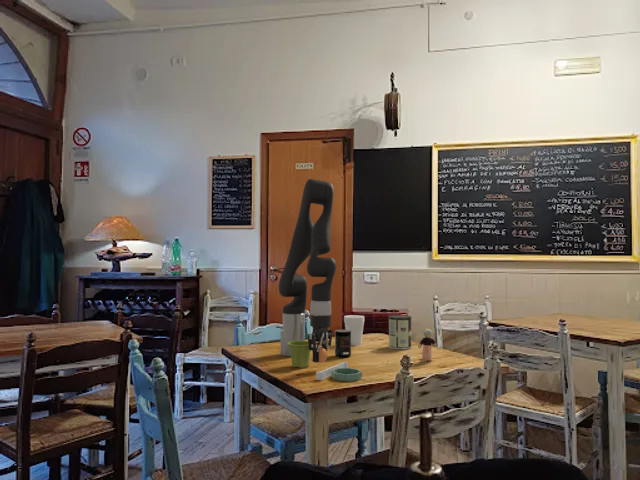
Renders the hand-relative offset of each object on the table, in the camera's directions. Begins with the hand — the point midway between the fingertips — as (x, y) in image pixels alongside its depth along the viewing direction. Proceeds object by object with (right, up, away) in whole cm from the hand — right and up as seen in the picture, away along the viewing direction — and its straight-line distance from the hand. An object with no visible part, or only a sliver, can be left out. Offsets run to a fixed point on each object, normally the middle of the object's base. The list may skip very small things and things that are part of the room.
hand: (319, 360), depth 181 cm
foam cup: (+16, -6, +54) cm, 57 cm away
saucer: (+9, -4, -10) cm, 14 cm away
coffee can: (+36, -6, +47) cm, 60 cm away
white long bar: (+4, -4, -5) cm, 7 cm away
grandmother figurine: (+43, -5, +18) cm, 47 cm away
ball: (0, +2, 0) cm, 2 cm away
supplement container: (+9, -5, +27) cm, 29 cm away
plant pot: (-7, -4, +8) cm, 11 cm away
